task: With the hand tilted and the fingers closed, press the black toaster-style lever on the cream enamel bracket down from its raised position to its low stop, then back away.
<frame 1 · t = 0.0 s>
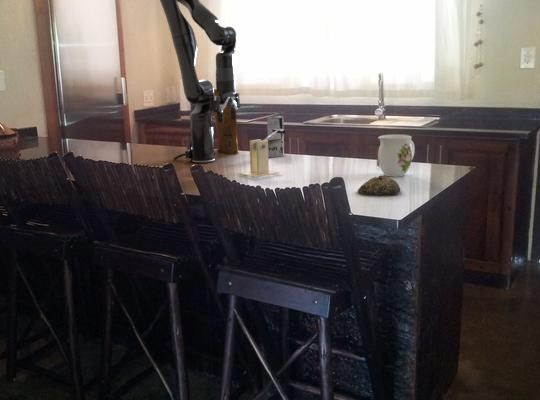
hand: (227, 121, 252), 17 cm above the countertop, tool pointing down, fingers open, 8 cm apart
lever: (267, 138, 229), point 13 cm above the countertop, hinge at 25.0°
mossy brown rock: (379, 192, 197), on the countertop
coffee box: (276, 155, 269), on the countertop
bracket: (259, 175, 230), on the countertop
pancake mix bag: (226, 152, 284), on the countertop
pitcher: (396, 174, 220), on the countertop
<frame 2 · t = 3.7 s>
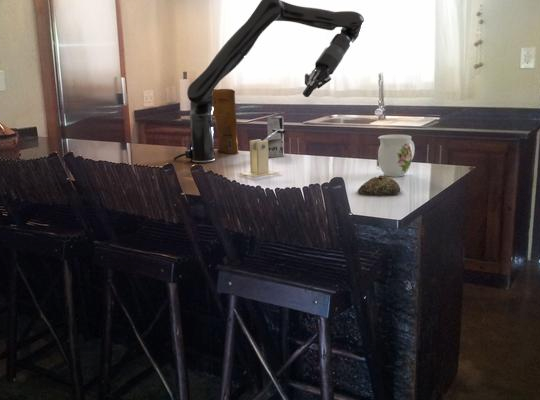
hand: (305, 95, 234), 27 cm above the countertop, tool tilted 45°, fingers closed
nothing on the countertop moved.
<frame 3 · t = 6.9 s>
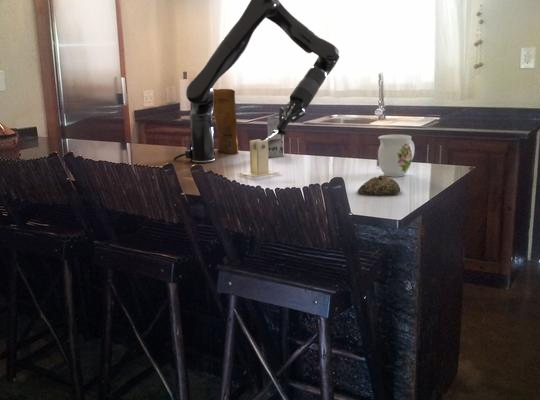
hand: (279, 129, 231), 16 cm above the countertop, tool tilted 45°, fingers closed
lever: (268, 139, 229), point 13 cm above the countertop, hinge at 21.7°, touching gripper
everything else where it was.
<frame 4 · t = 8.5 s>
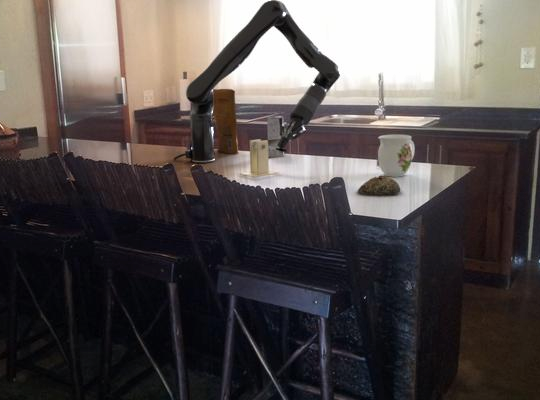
hand: (279, 147, 232), 9 cm above the countertop, tool tilted 45°, fingers closed
lever: (268, 147, 230), point 10 cm above the countertop, hinge at -15.9°, touching gripper
everything else where it was.
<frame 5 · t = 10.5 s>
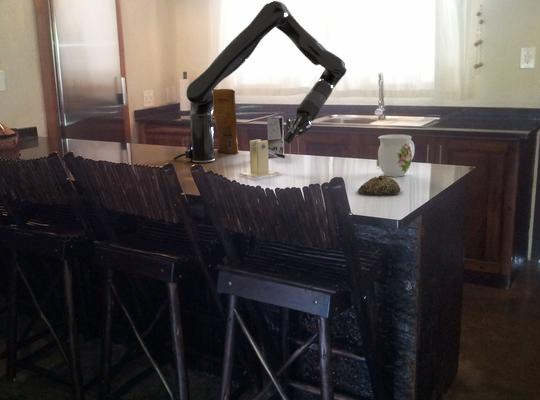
hand: (286, 142, 234), 11 cm above the countertop, tool tilted 45°, fingers closed
lever: (267, 150, 230), point 9 cm above the countertop, hinge at -28.7°
everything else where it was.
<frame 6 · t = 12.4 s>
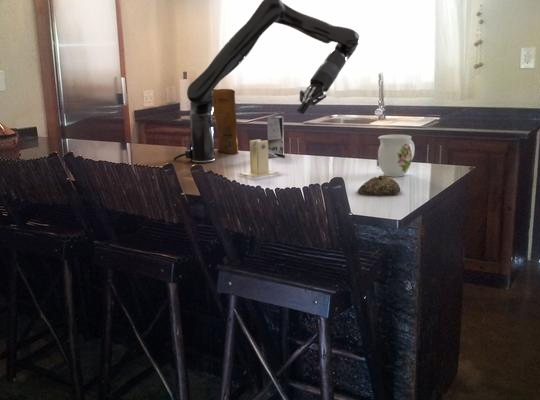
hand: (300, 112, 234), 21 cm above the countertop, tool tilted 45°, fingers closed
nothing on the countertop moved.
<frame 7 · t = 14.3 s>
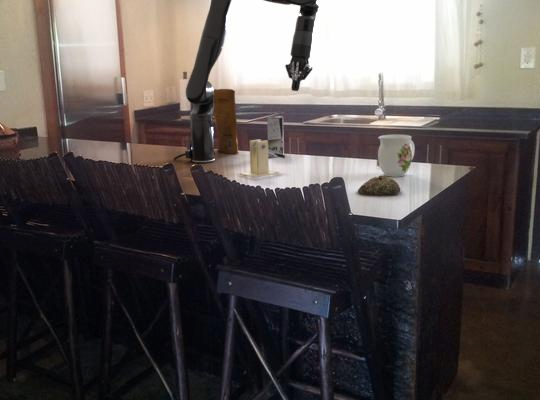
hand: (294, 90, 242), 28 cm above the countertop, tool pointing down, fingers closed
nothing on the countertop moved.
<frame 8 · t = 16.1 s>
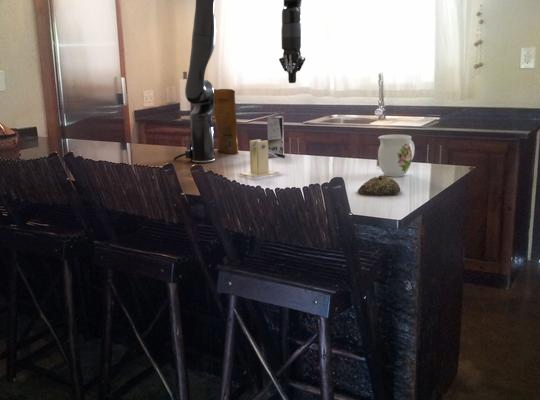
hand: (292, 82, 243), 31 cm above the countertop, tool pointing down, fingers closed
nothing on the countertop moved.
at the end: lever at -29° (first picture: +25°); lever reached -29° during the clip, -29° at the end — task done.
